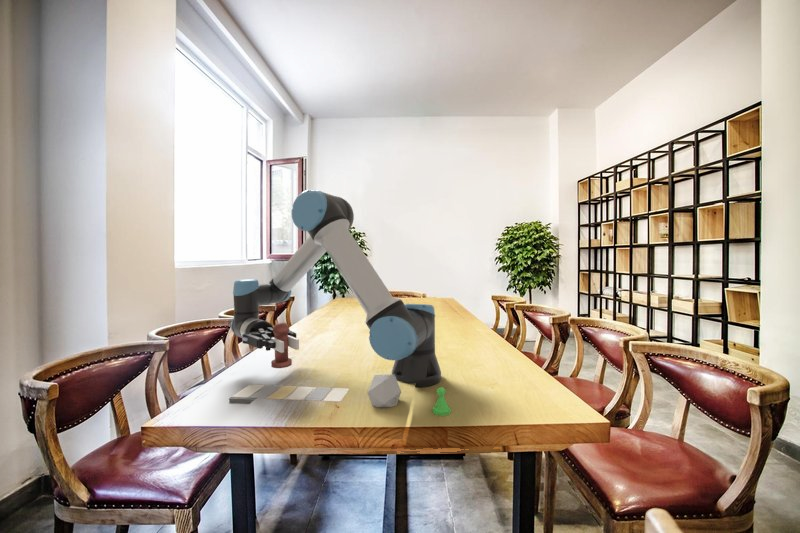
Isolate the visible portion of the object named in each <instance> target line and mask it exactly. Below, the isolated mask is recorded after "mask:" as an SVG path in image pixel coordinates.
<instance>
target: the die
mask: <svg viewBox="0 0 800 533" xmlns="http://www.w3.org/2000/svg"><path fill="white" fill-rule="evenodd" d="M398 382H399V381H397V379H396V377H395V374H393V375H392V374H374V375H373V378H372V380H371V383H370V385H369V387H368V390H367V395H368V398H369V400H370V402H371V405H372V406H373V407H376V408H392V407H394V406H397V405H398V403H399V399H400V396H401V394H402V390H401V387H400V385H399V383H398Z"/></svg>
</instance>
